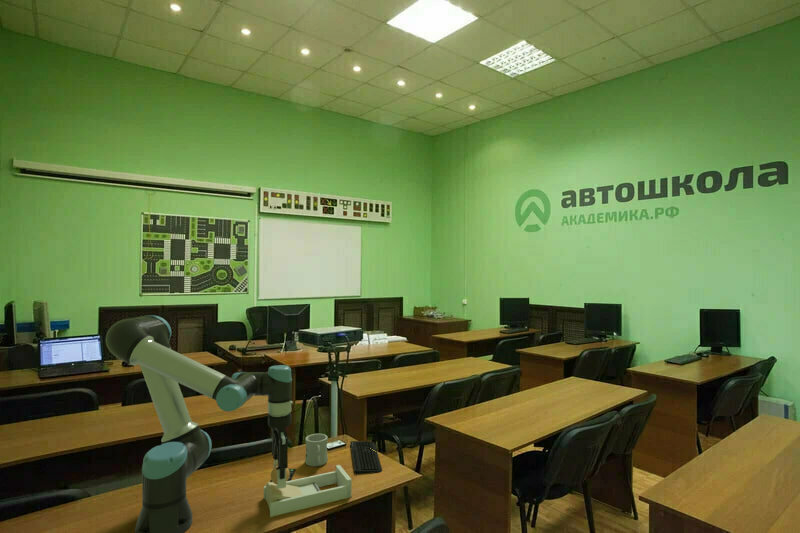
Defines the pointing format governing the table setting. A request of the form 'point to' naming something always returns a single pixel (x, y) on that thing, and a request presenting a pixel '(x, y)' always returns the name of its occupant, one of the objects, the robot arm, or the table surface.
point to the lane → (307, 492)
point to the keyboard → (365, 457)
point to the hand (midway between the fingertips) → (279, 483)
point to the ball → (274, 475)
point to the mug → (316, 449)
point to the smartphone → (290, 474)
